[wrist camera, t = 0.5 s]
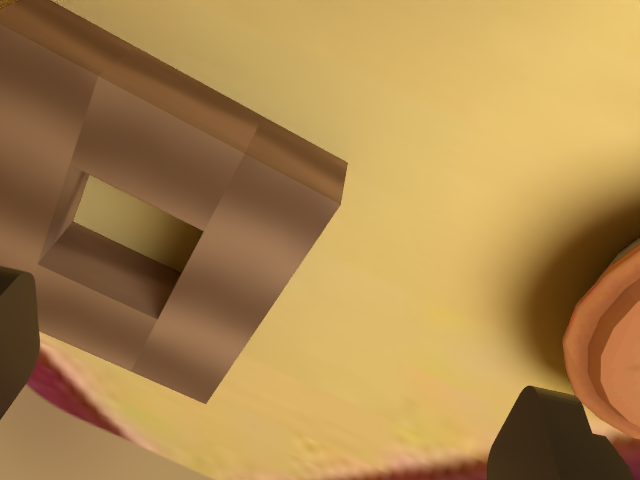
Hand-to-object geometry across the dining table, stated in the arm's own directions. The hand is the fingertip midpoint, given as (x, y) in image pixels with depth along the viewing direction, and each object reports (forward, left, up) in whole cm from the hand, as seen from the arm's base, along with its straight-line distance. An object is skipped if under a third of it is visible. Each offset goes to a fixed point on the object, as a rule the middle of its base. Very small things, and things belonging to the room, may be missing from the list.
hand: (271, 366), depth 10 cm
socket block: (+14, -5, -20) cm, 25 cm away
